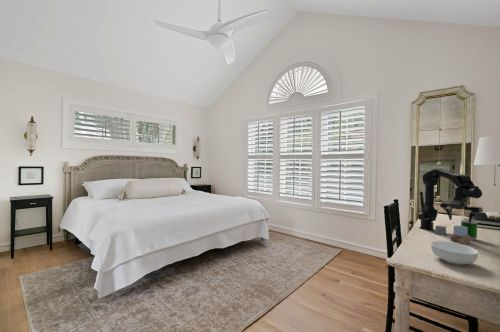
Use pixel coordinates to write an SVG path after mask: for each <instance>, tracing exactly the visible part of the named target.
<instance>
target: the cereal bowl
mask: <svg viewBox="0 0 500 332" xmlns="http://www.w3.org/2000/svg"><path fill="white" fill-rule="evenodd" d="M430 245H431V246H430V248H431V251H432V253H433V254H434V255H435V256H436V257H438V258H439V259H441V260H443V262H446V263H449V264H451V265H452V264H453V265H457V266H463V265H471V264H472V263H475V262H476V261H477V259H478V257H479V251H478V250H476V249H475V248H473V247H471V246H468V245H466V244H462V243H458V242H454V241H447V240H446V241H444V240H435V241H432V242H431V243H430Z"/></svg>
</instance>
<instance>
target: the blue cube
mask: <svg viewBox="0 0 500 332" xmlns="http://www.w3.org/2000/svg"><path fill="white" fill-rule="evenodd" d="M452 232H453V233H452V234H454V235H459V236H463V237H464V236H467V233H468V227H464V226H461V225H458V224H457V225H453V231H452Z"/></svg>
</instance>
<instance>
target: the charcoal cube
mask: <svg viewBox="0 0 500 332" xmlns="http://www.w3.org/2000/svg"><path fill="white" fill-rule="evenodd" d="M434 235H438V236H445V235H447V226H443V225H442V226H441V225H436V226H435V228H434Z"/></svg>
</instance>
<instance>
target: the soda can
mask: <svg viewBox="0 0 500 332" xmlns="http://www.w3.org/2000/svg"><path fill="white" fill-rule="evenodd" d="M460 222H461V223H460V226H464V227H468V233H467V235H469V236H470V241H475V240H476V239H477V238H478V221H477V220H476V219H473V220H472V222H471V223H470V224H469V218H467V217H466V218H464V217H463V218H462V219H460Z"/></svg>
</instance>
